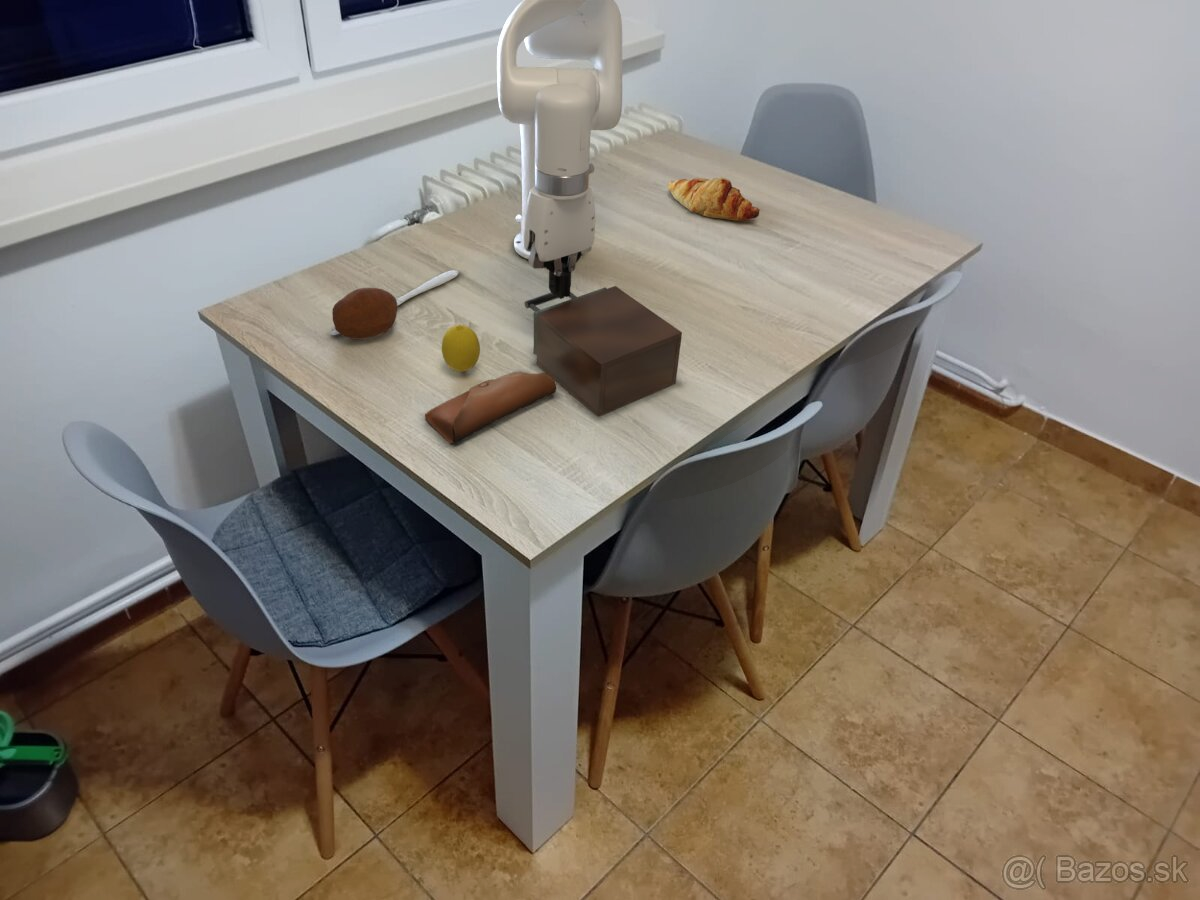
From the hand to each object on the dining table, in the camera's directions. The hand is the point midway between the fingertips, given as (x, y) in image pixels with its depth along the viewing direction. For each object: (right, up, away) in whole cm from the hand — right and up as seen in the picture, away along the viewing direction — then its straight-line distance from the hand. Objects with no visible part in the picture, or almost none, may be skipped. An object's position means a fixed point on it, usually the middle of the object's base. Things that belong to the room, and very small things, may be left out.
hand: (559, 293), depth 139 cm
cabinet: (+7, -12, -2) cm, 14 cm away
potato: (-30, -5, +4) cm, 31 cm away
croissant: (+29, +24, +43) cm, 57 cm away
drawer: (+4, -9, +1) cm, 10 cm away
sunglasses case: (-9, -18, -10) cm, 23 cm away
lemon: (-14, -12, -3) cm, 19 cm away
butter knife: (-27, 0, +10) cm, 29 cm away
